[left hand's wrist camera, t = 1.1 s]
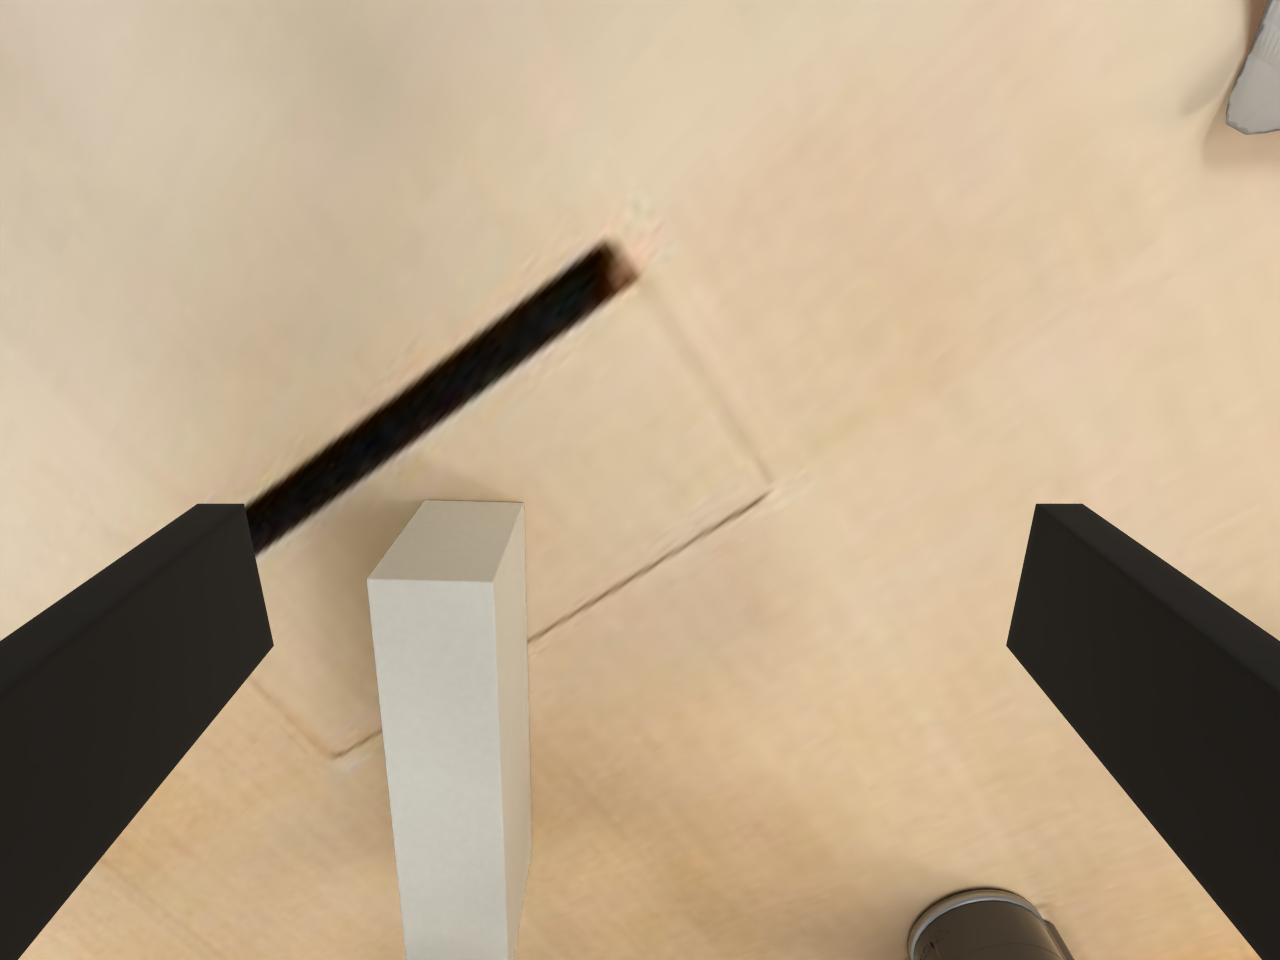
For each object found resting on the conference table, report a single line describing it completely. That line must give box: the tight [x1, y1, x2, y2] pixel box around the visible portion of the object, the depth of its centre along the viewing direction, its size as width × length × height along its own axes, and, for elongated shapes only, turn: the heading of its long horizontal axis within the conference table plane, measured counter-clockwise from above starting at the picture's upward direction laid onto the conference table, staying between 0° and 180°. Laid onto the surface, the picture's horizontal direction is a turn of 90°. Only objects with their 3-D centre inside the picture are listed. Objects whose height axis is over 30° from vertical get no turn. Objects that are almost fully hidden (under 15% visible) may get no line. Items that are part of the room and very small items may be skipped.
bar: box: [367, 500, 532, 960], centre depth 40 cm, size 25×5×9 cm, turn 178°
